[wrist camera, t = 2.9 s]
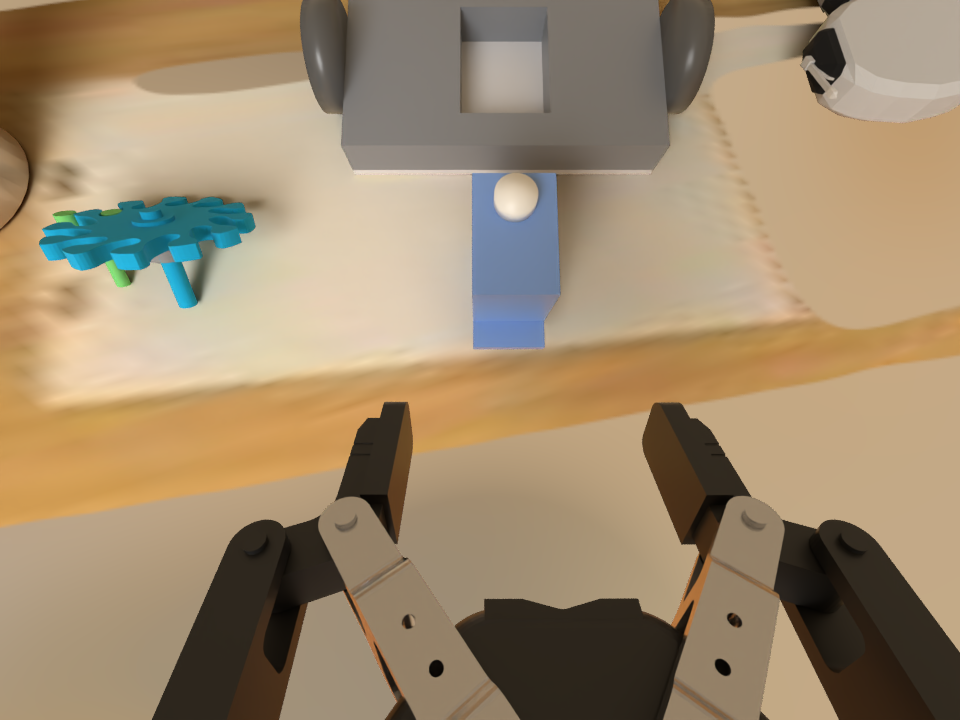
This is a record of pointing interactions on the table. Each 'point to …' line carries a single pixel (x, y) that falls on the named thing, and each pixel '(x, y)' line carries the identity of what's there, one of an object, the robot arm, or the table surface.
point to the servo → (513, 258)
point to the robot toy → (886, 59)
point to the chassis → (505, 81)
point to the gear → (146, 237)
